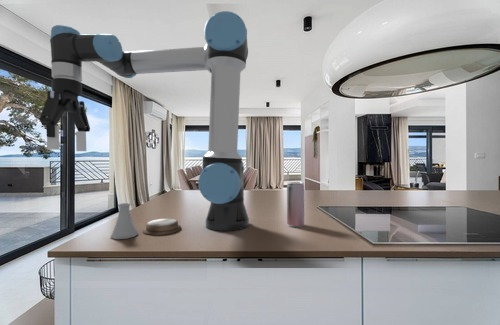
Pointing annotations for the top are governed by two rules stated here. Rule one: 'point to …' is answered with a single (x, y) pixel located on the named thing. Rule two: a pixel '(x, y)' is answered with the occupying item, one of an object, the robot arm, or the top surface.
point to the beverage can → (295, 204)
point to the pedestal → (161, 227)
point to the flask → (124, 224)
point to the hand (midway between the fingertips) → (68, 150)
